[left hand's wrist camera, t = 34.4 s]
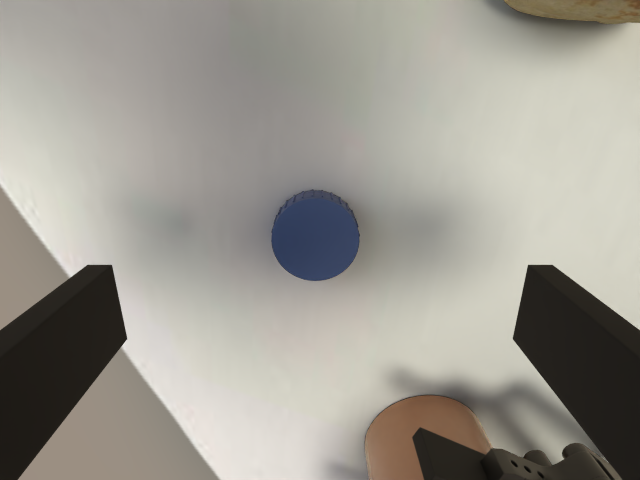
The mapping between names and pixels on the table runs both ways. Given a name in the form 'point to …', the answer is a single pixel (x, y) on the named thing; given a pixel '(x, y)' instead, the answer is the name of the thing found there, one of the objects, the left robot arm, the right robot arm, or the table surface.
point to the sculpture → (582, 9)
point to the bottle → (402, 423)
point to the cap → (315, 235)
